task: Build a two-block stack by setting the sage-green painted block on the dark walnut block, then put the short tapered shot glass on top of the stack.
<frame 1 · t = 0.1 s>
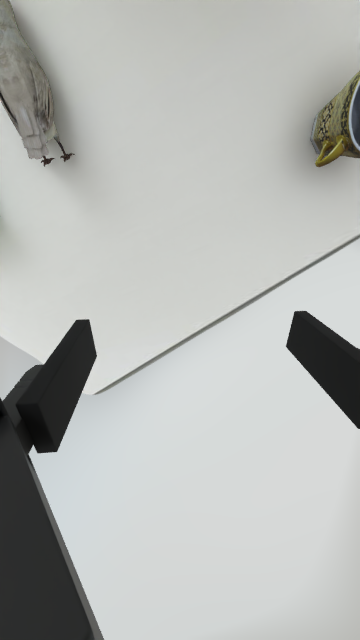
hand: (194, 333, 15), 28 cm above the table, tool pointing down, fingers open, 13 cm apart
ceramic cup: (323, 138, 34), on the table
decorative bird: (36, 94, 29), on the table
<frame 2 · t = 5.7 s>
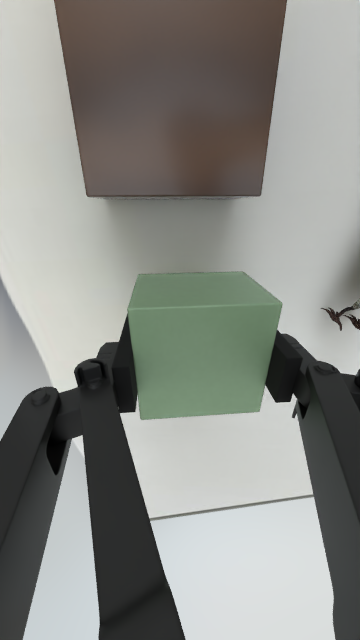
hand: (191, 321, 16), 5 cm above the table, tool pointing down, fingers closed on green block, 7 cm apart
green block: (190, 320, 17), point 5 cm above the table, touching gripper
walnut block: (169, 114, 15), on the table
when the fingers open (5 cm above the table, at t = 9.5 s): green block stays where it is, resting on walnut block.
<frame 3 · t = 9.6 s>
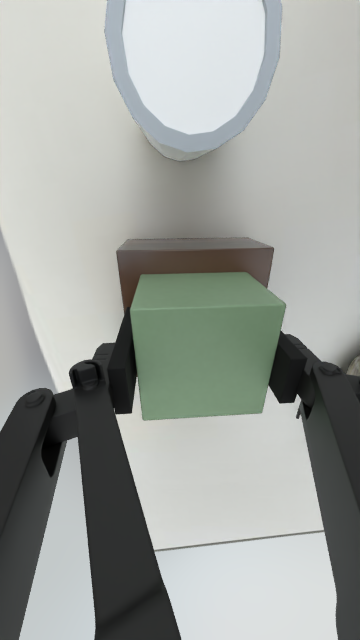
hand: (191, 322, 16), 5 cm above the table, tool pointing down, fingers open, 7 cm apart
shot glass: (181, 110, 15), on the table
green block: (193, 320, 16), point 5 cm above the table, touching gripper, walnut block
walnut block: (188, 295, 21), on the table, touching green block, gripper
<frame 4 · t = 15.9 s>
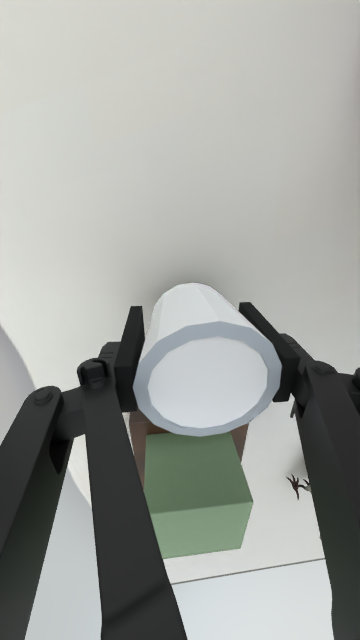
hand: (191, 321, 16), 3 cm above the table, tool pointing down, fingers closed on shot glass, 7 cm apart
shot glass: (190, 318, 17), point 3 cm above the table, touching gripper
green block: (187, 456, 21), point 5 cm above the table, touching walnut block
walnut block: (184, 411, 25), on the table, touching green block
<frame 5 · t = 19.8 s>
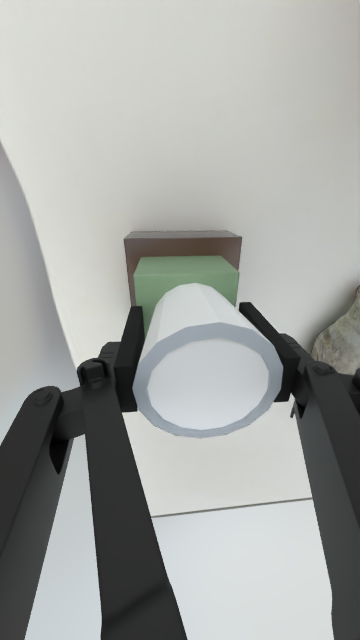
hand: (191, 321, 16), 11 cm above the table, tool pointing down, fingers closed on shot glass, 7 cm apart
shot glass: (191, 318, 17), point 10 cm above the table, touching green block, gripper
decorative bird: (321, 337, 31), on the table
green block: (181, 293, 21), point 5 cm above the table, touching gripper, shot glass, walnut block
walnut block: (180, 278, 26), on the table, touching green block
when the fingers open (11 cm above the table, at t = 20.2 s): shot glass stays where it is, resting on green block.
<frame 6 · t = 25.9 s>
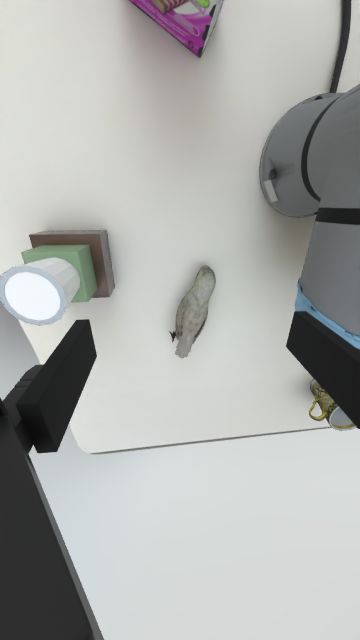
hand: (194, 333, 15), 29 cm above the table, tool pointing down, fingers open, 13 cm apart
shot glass: (59, 278, 31), point 10 cm above the table, touching green block
ceramic cup: (316, 383, 58), on the table
decorative bird: (191, 303, 45), on the table
candy bar box: (170, 7, 28), on the table
green block: (70, 268, 35), point 5 cm above the table, touching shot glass, walnut block
walnut block: (81, 261, 40), on the table, touching green block
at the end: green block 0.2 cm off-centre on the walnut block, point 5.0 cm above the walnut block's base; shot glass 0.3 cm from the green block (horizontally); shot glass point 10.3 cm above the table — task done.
